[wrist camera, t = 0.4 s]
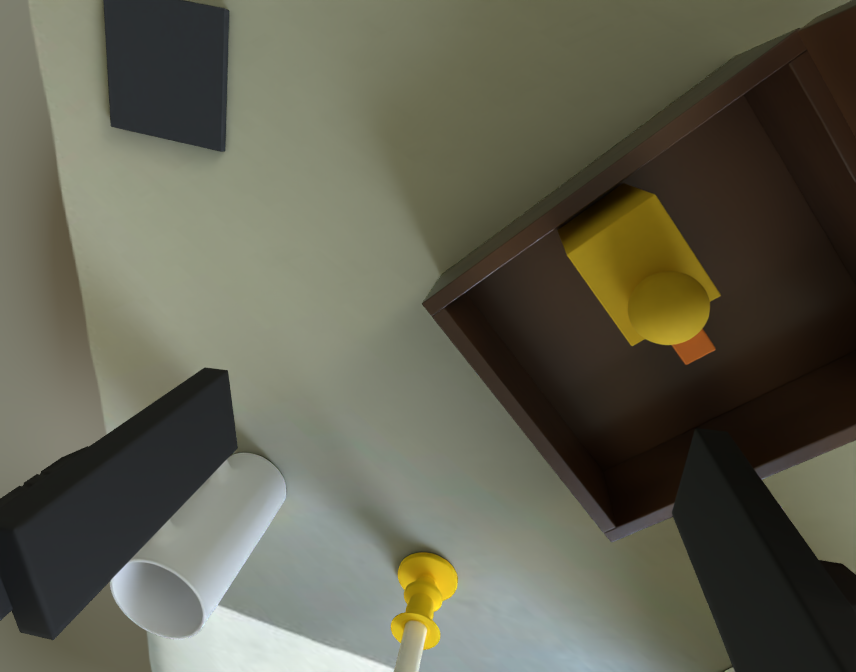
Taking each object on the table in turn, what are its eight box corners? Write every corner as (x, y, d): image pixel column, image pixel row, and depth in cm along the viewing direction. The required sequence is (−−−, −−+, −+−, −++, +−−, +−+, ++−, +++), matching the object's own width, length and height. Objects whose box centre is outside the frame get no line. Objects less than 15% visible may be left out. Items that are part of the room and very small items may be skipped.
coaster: (108, -13, 30) (101, -16, 29) (229, 10, 29) (224, 8, 28) (116, 126, 33) (110, 126, 32) (225, 151, 32) (221, 151, 32)
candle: (451, 604, 43) (414, 833, 29) (395, 588, 43) (330, 804, 29) (463, 561, 41) (430, 784, 26) (403, 544, 41) (339, 754, 27)
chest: (597, 478, 36) (611, 543, 30) (440, 275, 32) (421, 303, 26) (898, 333, 28) (995, 382, 23) (736, 55, 25) (800, 26, 19)
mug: (296, 516, 42) (216, 644, 31) (228, 512, 44) (128, 634, 33) (273, 414, 39) (173, 519, 28) (199, 414, 40) (77, 513, 29)
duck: (624, 182, 27) (674, 201, 18) (688, 280, 29) (767, 344, 19) (557, 230, 29) (571, 269, 20) (620, 320, 30) (663, 398, 21)
